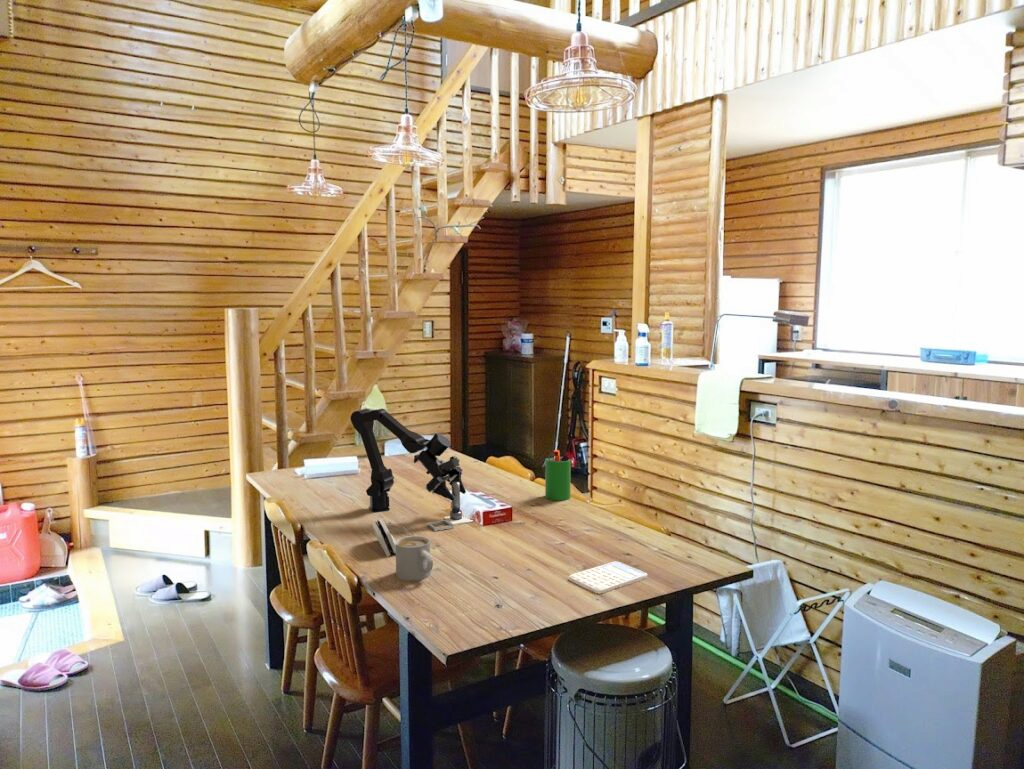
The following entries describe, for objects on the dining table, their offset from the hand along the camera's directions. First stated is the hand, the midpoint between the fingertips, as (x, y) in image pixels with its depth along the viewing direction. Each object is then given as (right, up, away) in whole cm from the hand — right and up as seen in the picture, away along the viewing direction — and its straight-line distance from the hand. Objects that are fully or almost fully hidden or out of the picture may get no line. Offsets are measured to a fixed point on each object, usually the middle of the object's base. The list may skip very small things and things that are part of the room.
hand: (459, 496), depth 257 cm
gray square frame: (-6, -10, -6) cm, 13 cm away
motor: (+38, -5, +29) cm, 48 cm away
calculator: (+47, -16, -53) cm, 72 cm away
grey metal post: (-1, -8, +2) cm, 8 cm away
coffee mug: (-9, -16, -51) cm, 54 cm away
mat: (0, -9, +1) cm, 9 cm away
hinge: (-22, -13, -27) cm, 37 cm away
